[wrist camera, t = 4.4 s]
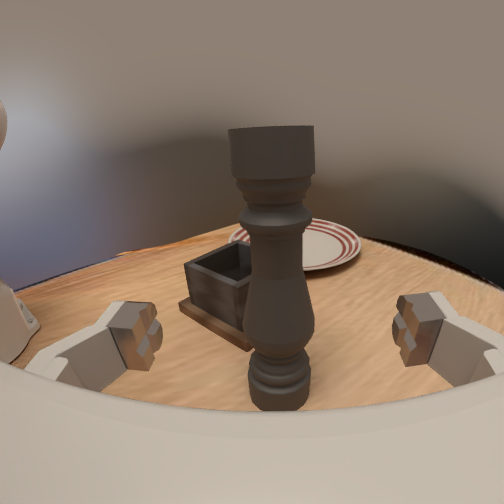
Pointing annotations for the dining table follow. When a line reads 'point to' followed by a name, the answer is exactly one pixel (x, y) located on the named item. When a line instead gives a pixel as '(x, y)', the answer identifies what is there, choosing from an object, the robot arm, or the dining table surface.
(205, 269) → the dark square box
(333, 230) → the dinner plate
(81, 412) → the robot arm
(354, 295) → the dining table surface
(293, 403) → the candle holder
